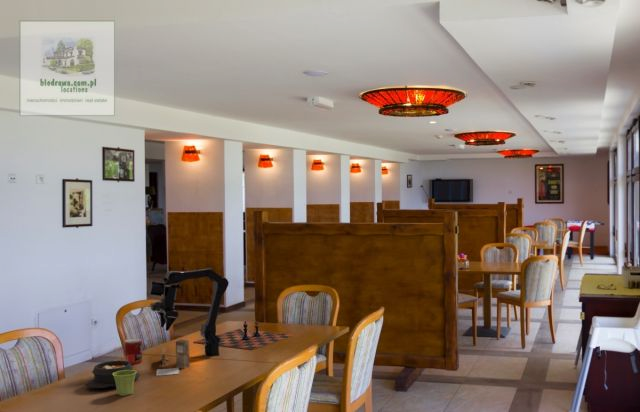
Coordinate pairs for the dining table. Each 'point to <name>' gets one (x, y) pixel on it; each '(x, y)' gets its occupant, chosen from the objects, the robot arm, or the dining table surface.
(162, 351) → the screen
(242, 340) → the chessboard
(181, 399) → the dining table surface
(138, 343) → the canned food
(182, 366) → the plain brown block
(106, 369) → the casserole
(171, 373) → the felt mat
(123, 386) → the plant pot
